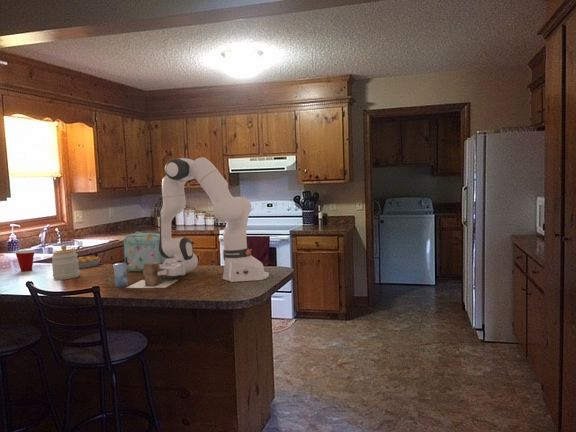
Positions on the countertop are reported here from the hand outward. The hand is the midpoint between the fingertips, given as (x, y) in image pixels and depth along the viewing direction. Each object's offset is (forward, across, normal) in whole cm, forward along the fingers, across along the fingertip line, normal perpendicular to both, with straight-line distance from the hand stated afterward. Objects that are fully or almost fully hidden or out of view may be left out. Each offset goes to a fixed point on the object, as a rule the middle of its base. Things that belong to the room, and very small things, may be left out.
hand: (150, 273), depth 219 cm
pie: (-27, -87, +7) cm, 91 cm away
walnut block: (-1, 0, +6) cm, 6 cm away
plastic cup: (-6, -109, +6) cm, 110 cm away
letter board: (-2, -2, +6) cm, 7 cm away
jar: (0, -64, +6) cm, 64 cm away
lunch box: (-28, -33, +6) cm, 44 cm away
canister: (+6, -13, +6) cm, 16 cm away
